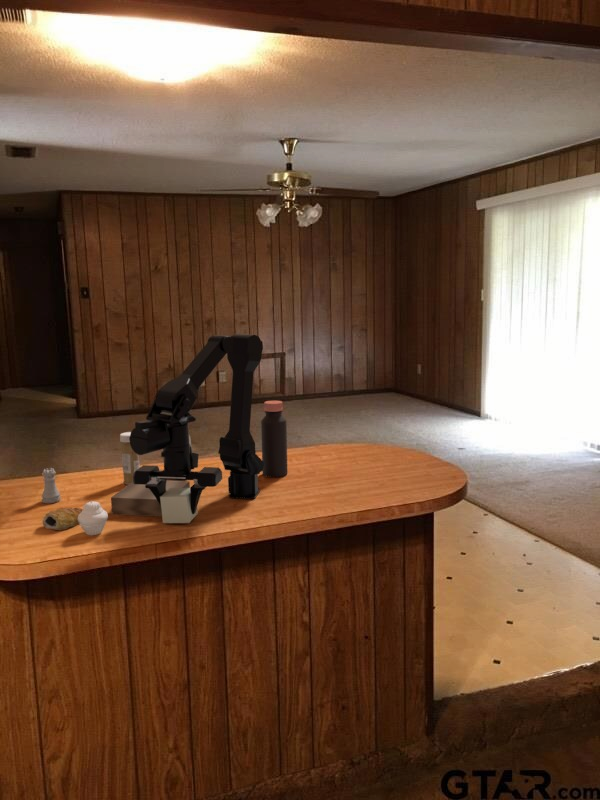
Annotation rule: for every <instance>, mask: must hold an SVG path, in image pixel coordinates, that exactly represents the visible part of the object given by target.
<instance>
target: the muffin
mask: <svg viewBox="0 0 600 800" xmlns="http://www.w3.org/2000/svg"><path fill="white" fill-rule="evenodd" d="M82 507H83V508H82V509H83V510H82V512H81V513H80V514H79V516H78V521H79V523H80V524H79V526H80V527H81V529H82V530H83V531H84V533H85V534H86V535H88V536H97V535H99V534H101V533H102V532H103V530H104V528H105V526H106V525H107V524H106V523H107V521H108V518H109V516H108V515H109V514H108V512H107V511H106V510H104V508H103V507H102V506H101V503H100V502H98V501H88V502H86V503H85V504H84V505H83V506H82Z"/></svg>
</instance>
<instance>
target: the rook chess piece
mask: <svg viewBox="0 0 600 800" xmlns="http://www.w3.org/2000/svg"><path fill="white" fill-rule="evenodd" d="M56 474H57V472H56V470H55V468H52V467H49V468H48V467H46V468H43V470H42V473H41V475H42V476H43V482H44V487H43V491H42V494H41V498H42V499H41V502H42V503H43V504H55V503H58V502H59V501H61V499H62V497H61V492H60V491H59V490H58V488H57V486H56V477H55V475H56Z"/></svg>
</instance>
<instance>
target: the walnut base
mask: <svg viewBox="0 0 600 800" xmlns="http://www.w3.org/2000/svg"><path fill="white" fill-rule="evenodd" d="M190 481H191V480H168V479H167V481H166V491H167V490H168V489H170V488H191V486H190V485H191V483H190ZM110 503H111V514H112V515H118V516H120V515H123V516H140V517H141V516H146V517H162V510H161V506H160V504H159V502H158V501H157V499H156V497H155V496H154V495H153V493H152V492H151V490H150V489H149V488H145V485H144V484H134V483H133V481H132V482H131V483H130V484H128V485H126V486H124V487H123V488H122V489H120V490H119V491H118V492H116V493H115V494H113V495H112V496H111V497H110Z"/></svg>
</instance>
